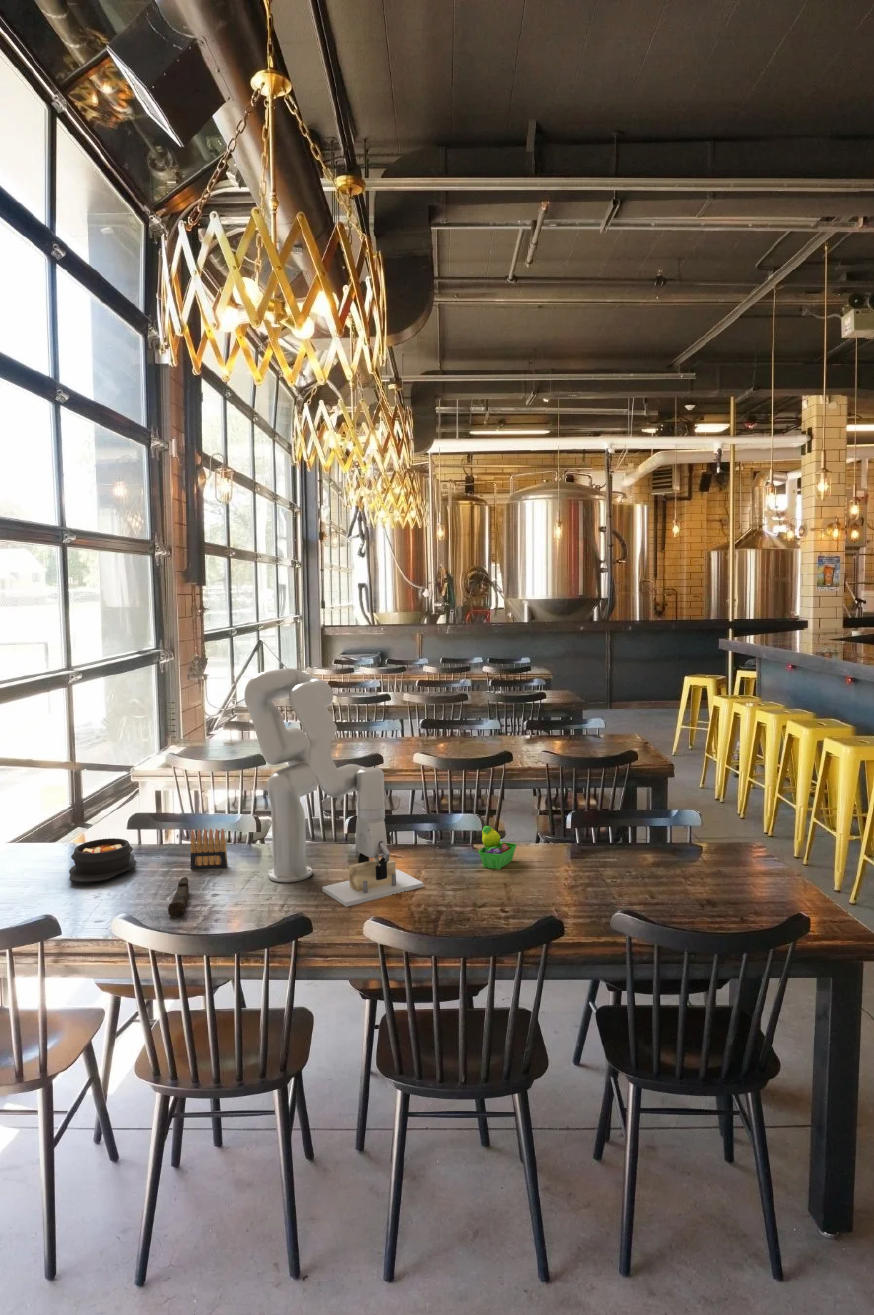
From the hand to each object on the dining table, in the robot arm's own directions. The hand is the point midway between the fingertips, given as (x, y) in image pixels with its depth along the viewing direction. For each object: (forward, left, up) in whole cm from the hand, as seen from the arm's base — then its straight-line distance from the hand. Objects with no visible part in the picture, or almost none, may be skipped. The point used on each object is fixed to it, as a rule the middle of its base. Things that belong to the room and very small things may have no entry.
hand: (372, 874), depth 224 cm
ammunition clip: (-45, -31, -4) cm, 55 cm away
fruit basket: (+4, +40, -4) cm, 40 cm away
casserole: (-60, -58, -4) cm, 84 cm away
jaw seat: (0, 0, -4) cm, 4 cm away
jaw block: (0, 0, -3) cm, 3 cm away
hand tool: (-22, -47, -5) cm, 52 cm away
